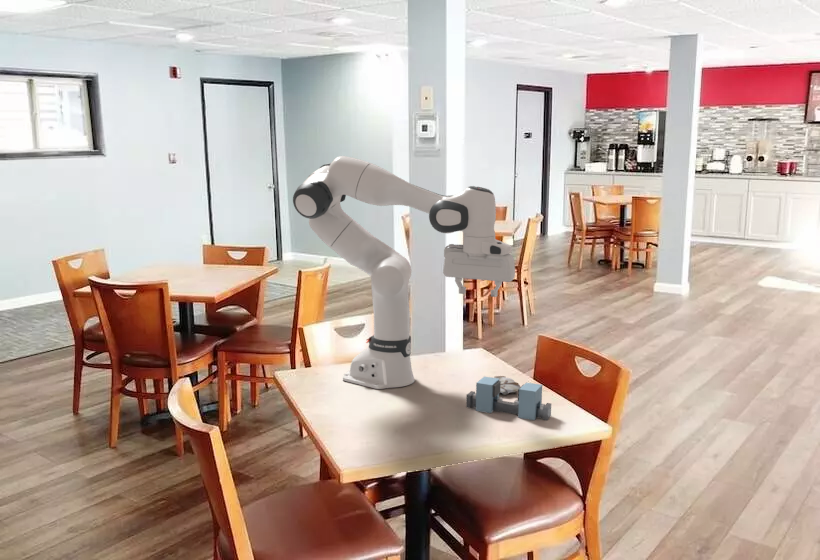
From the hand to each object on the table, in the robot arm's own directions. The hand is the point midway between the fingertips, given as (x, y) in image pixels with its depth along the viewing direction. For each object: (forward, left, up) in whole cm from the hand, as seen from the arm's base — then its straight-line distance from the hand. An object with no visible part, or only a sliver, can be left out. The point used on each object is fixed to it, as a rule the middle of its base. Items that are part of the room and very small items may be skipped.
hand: (478, 294), depth 210 cm
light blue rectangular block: (+5, -4, -31) cm, 32 cm away
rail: (+11, -4, -31) cm, 33 cm away
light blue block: (+17, -4, -31) cm, 36 cm away
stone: (+4, +13, -32) cm, 34 cm away
